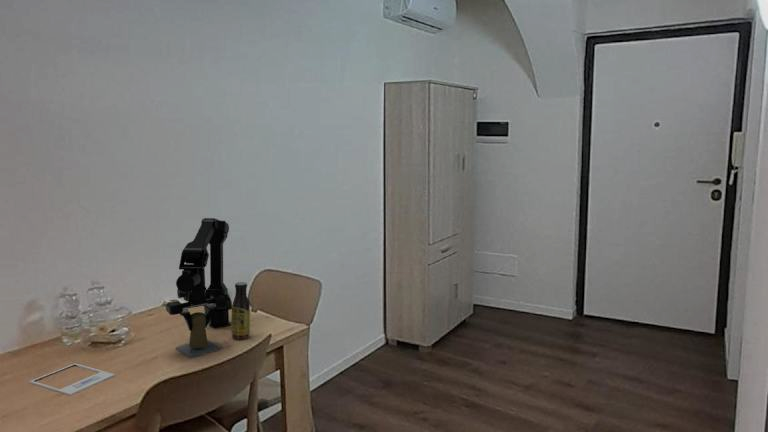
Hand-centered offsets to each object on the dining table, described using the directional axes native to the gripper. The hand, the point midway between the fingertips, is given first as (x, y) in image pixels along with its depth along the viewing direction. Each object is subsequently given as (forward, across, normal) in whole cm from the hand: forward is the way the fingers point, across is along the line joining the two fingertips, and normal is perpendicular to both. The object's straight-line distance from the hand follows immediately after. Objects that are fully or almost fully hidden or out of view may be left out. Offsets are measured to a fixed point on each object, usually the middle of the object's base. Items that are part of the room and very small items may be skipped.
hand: (198, 328), depth 194 cm
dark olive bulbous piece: (+6, 0, 0) cm, 6 cm away
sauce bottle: (+7, -16, -3) cm, 18 cm away
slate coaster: (+7, 0, 0) cm, 7 cm away
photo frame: (+8, +38, +3) cm, 39 cm away
